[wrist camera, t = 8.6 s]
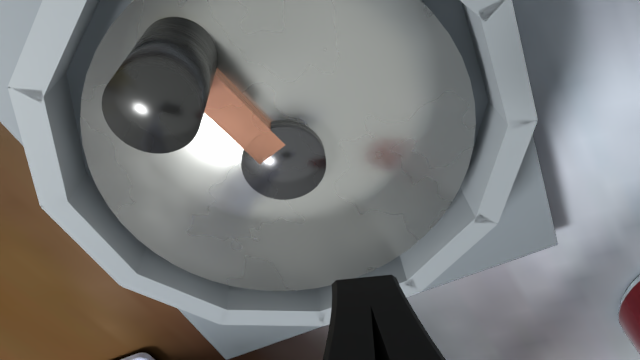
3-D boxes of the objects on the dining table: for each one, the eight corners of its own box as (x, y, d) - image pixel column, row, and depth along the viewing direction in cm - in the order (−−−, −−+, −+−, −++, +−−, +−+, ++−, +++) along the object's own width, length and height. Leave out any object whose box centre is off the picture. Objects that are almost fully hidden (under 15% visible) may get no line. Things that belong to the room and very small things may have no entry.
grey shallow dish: (228, 344, 28) (222, 393, 25) (-125, -40, 16) (-199, -18, 13) (548, 230, 24) (578, 275, 22) (407, -364, 12) (438, -415, 10)
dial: (527, 155, 20) (593, 240, 16) (270, 313, 24) (267, 414, 20) (308, -176, 13) (321, -183, 9) (9, 122, 18) (-77, 212, 14)
